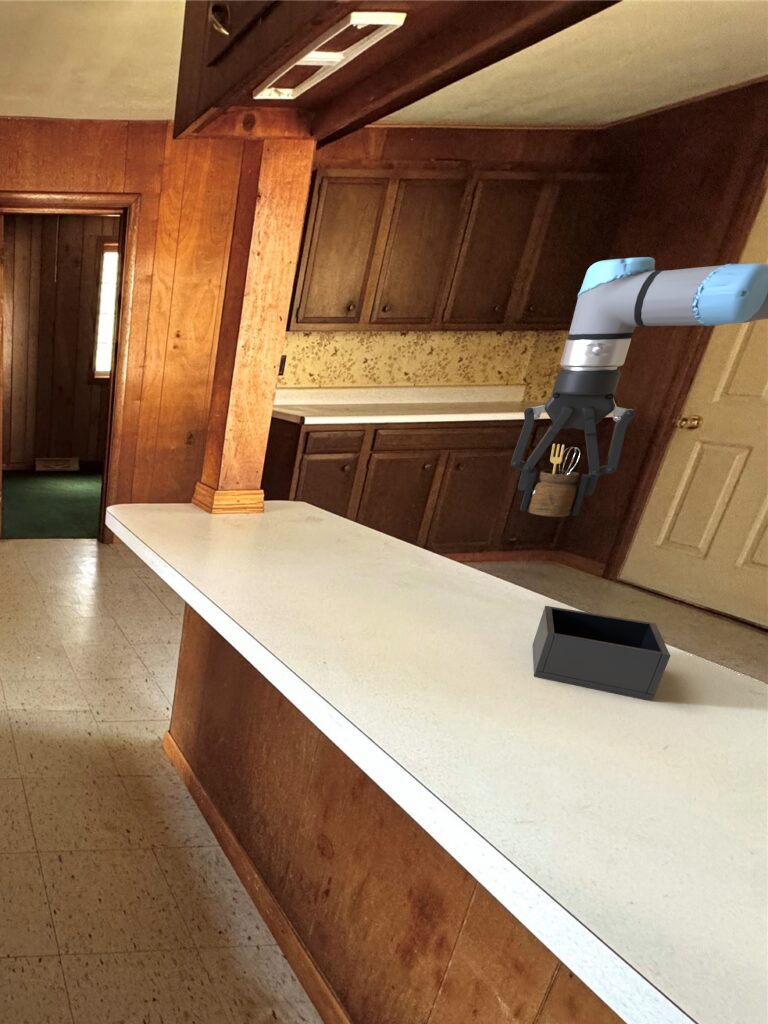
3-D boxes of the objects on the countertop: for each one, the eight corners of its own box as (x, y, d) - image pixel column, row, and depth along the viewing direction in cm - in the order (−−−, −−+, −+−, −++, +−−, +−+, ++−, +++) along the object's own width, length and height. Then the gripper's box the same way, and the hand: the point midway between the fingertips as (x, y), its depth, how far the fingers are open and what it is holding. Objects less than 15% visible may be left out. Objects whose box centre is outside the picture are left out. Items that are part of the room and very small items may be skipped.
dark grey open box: (639, 665, 99) (656, 623, 97) (652, 701, 90) (670, 655, 88) (532, 645, 107) (545, 605, 104) (533, 676, 97) (547, 633, 95)
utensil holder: (577, 514, 112) (599, 442, 107) (559, 519, 109) (581, 446, 104) (535, 507, 116) (555, 438, 112) (517, 512, 114) (537, 442, 109)
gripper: (513, 370, 107) (478, 509, 115) (678, 369, 96) (626, 523, 104) (514, 367, 112) (480, 501, 121) (670, 366, 101) (621, 513, 110)
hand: (548, 511), depth 112 cm, fingers closed on utensil holder, 6 cm apart
